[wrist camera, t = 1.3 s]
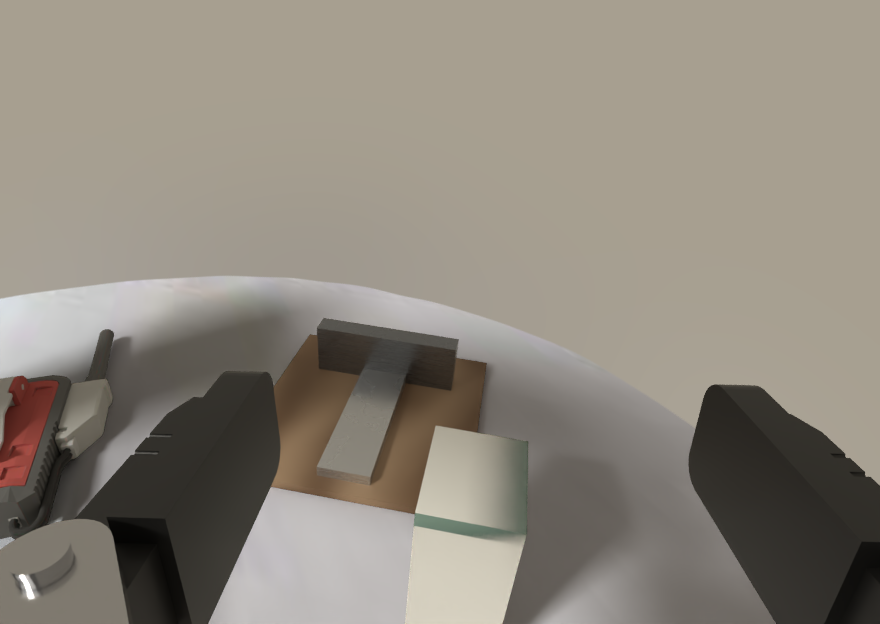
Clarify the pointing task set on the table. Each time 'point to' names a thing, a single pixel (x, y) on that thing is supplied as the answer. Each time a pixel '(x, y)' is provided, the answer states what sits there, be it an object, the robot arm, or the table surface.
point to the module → (468, 529)
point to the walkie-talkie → (46, 437)
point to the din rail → (362, 428)
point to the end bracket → (387, 352)
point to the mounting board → (408, 441)
